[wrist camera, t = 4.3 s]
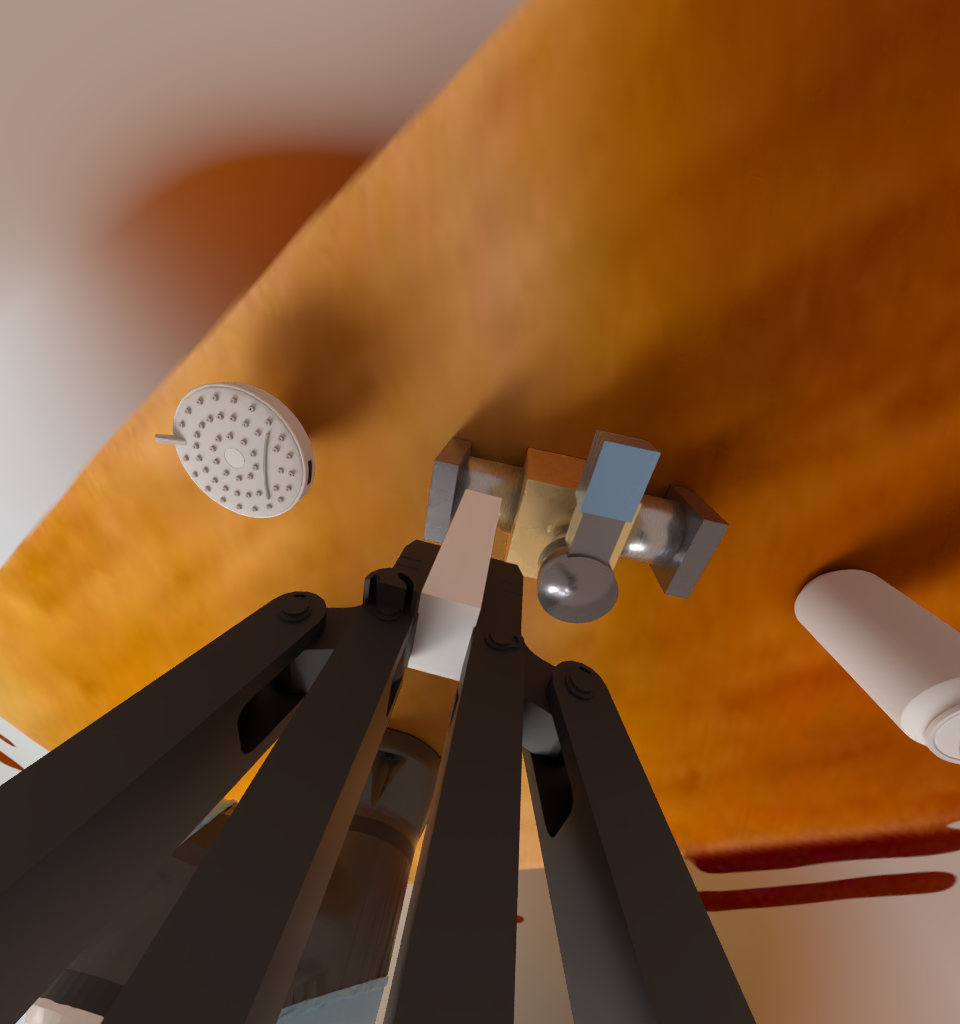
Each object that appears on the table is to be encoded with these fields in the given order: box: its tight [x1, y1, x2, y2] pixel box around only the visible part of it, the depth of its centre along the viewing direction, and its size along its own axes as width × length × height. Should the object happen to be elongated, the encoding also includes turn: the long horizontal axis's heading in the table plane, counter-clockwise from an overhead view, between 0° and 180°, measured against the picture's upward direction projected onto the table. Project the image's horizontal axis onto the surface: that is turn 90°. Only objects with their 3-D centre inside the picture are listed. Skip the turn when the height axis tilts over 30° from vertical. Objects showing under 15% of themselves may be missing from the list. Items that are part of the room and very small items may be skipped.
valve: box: [505, 447, 642, 579], centre depth 25 cm, size 7×7×10 cm
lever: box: [537, 430, 661, 623], centre depth 18 cm, size 10×4×2 cm, turn 171°
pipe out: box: [619, 485, 729, 599], centre depth 27 cm, size 6×6×6 cm
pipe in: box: [424, 437, 525, 543], centre depth 27 cm, size 6×6×6 cm
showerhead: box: [155, 382, 315, 518], centre depth 27 cm, size 9×7×10 cm
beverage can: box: [794, 569, 960, 764], centre depth 25 cm, size 6×6×12 cm
